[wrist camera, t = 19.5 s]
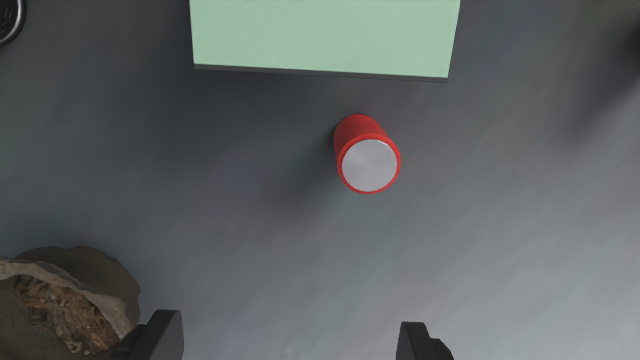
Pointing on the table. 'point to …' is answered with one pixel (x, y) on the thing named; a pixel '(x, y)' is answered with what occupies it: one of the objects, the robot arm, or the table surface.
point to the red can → (365, 155)
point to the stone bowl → (64, 305)
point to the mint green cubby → (326, 37)
